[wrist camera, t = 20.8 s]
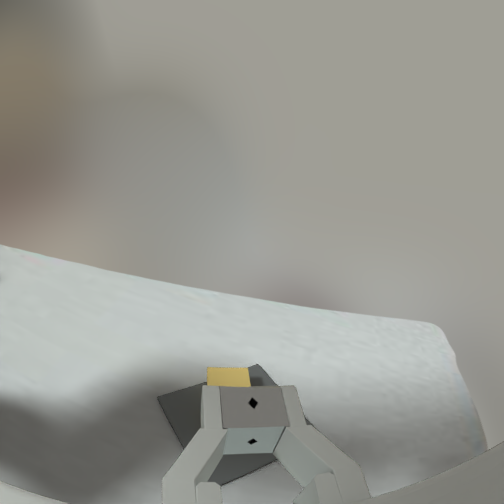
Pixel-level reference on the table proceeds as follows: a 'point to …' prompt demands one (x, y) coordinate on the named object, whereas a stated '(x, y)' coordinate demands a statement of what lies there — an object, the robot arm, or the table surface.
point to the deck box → (228, 377)
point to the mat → (189, 422)
